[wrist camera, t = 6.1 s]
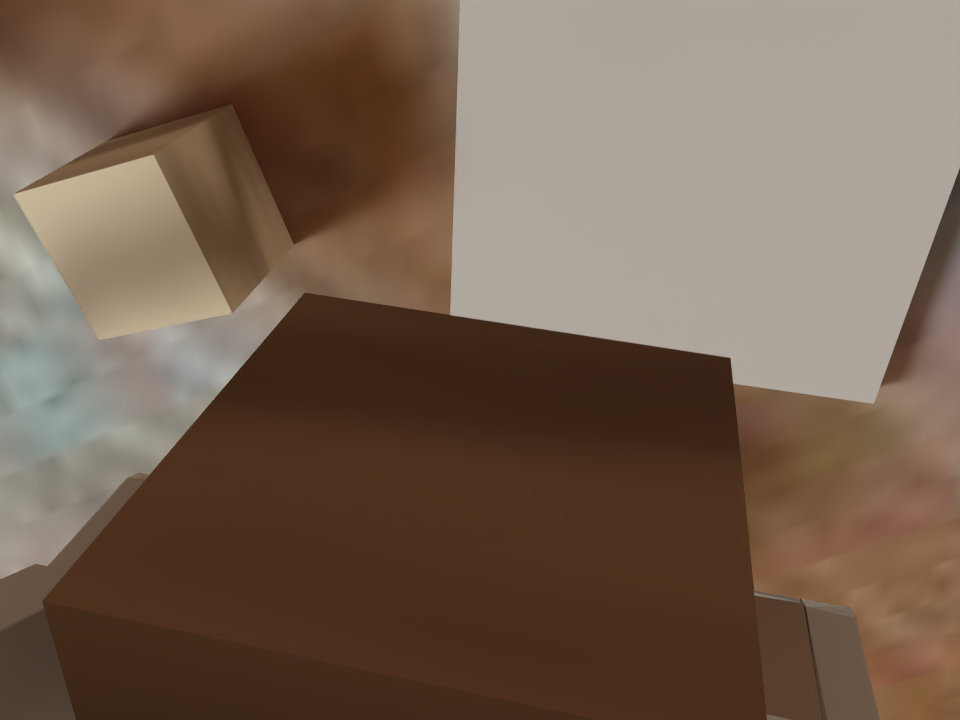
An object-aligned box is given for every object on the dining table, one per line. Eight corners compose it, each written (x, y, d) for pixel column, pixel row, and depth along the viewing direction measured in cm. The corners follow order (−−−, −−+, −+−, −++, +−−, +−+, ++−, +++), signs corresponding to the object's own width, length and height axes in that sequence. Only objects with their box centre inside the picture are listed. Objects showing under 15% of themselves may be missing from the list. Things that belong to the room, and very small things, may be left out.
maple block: (108, 140, 29) (13, 194, 25) (233, 103, 27) (153, 154, 23) (176, 270, 31) (99, 340, 27) (295, 243, 30) (232, 313, 26)
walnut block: (305, 293, 10) (41, 600, 6) (730, 358, 10) (771, 757, 5) (319, 590, 13) (142, 952, 9) (654, 658, 12) (640, 1086, 8)
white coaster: (470, -125, 23) (463, -123, 22) (1039, -88, 21) (1051, -84, 20) (454, 331, 30) (449, 342, 30) (869, 389, 28) (873, 403, 28)
